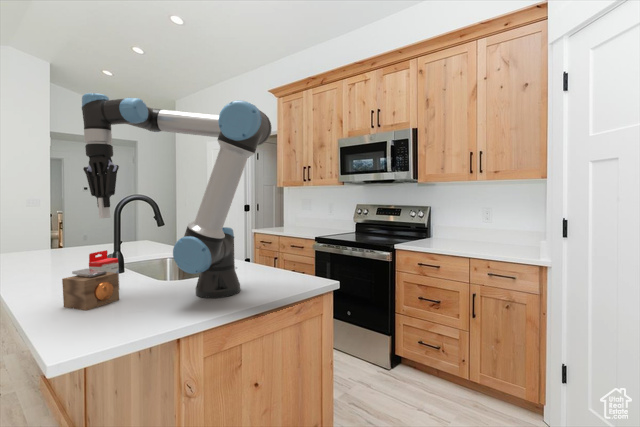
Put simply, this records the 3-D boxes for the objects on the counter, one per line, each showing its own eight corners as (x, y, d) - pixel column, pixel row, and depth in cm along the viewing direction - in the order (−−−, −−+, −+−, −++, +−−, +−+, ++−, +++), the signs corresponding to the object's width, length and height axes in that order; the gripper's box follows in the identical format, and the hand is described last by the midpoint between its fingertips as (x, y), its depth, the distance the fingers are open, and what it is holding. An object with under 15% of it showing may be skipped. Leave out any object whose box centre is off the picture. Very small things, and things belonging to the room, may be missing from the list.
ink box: (102, 296, 125) (99, 254, 124) (89, 295, 126) (87, 253, 125) (120, 289, 133) (118, 250, 132) (108, 289, 134) (106, 249, 133)
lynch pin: (113, 297, 117) (112, 280, 116) (97, 302, 112) (96, 284, 111) (89, 294, 121) (88, 277, 120) (72, 299, 116) (71, 281, 115)
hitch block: (119, 299, 120) (117, 273, 119) (86, 310, 109) (84, 281, 109) (97, 296, 124) (96, 270, 123) (63, 307, 113) (62, 278, 112)
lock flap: (106, 274, 117) (106, 271, 117) (90, 278, 112) (90, 275, 112) (88, 270, 120) (88, 267, 120) (71, 274, 115) (71, 271, 115)
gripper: (124, 143, 117) (129, 216, 118) (95, 147, 121) (100, 217, 123) (103, 141, 110) (109, 218, 111) (73, 144, 114) (79, 219, 116)
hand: (104, 217), depth 117 cm, fingers closed
